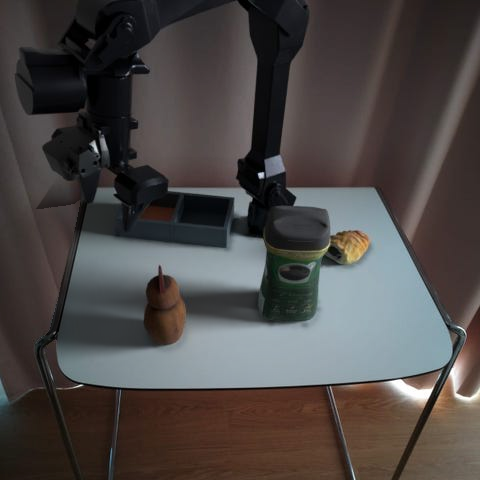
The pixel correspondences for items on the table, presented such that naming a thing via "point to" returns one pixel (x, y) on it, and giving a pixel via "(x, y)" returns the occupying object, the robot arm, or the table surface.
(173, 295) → the wooden figurine
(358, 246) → the pastry
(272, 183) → the robot arm
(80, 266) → the table surface
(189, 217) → the tray
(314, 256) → the coffee jar
